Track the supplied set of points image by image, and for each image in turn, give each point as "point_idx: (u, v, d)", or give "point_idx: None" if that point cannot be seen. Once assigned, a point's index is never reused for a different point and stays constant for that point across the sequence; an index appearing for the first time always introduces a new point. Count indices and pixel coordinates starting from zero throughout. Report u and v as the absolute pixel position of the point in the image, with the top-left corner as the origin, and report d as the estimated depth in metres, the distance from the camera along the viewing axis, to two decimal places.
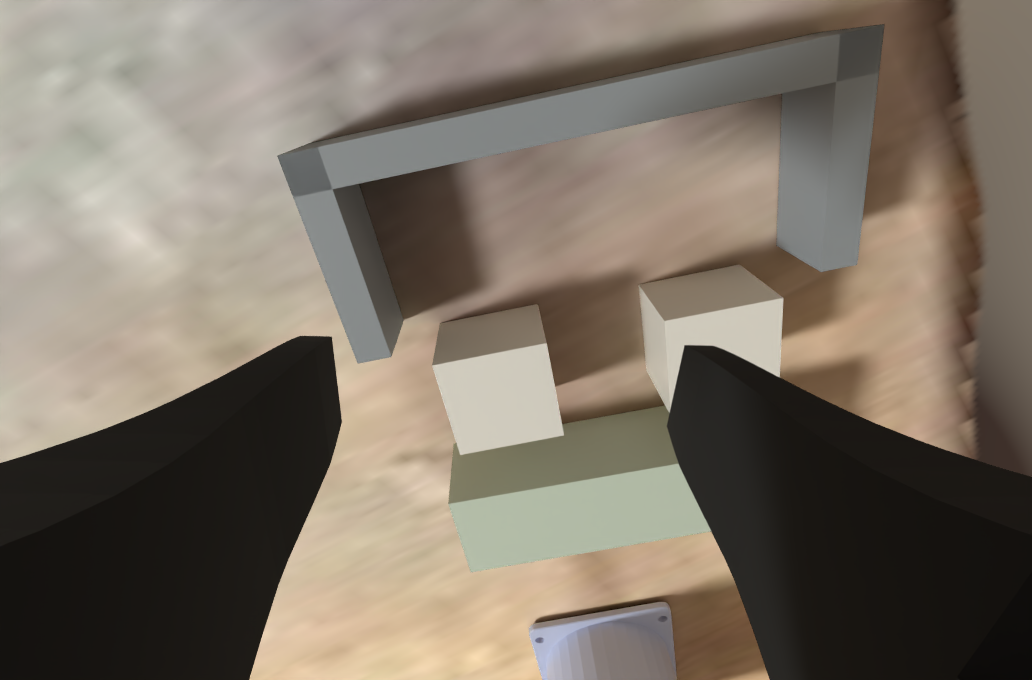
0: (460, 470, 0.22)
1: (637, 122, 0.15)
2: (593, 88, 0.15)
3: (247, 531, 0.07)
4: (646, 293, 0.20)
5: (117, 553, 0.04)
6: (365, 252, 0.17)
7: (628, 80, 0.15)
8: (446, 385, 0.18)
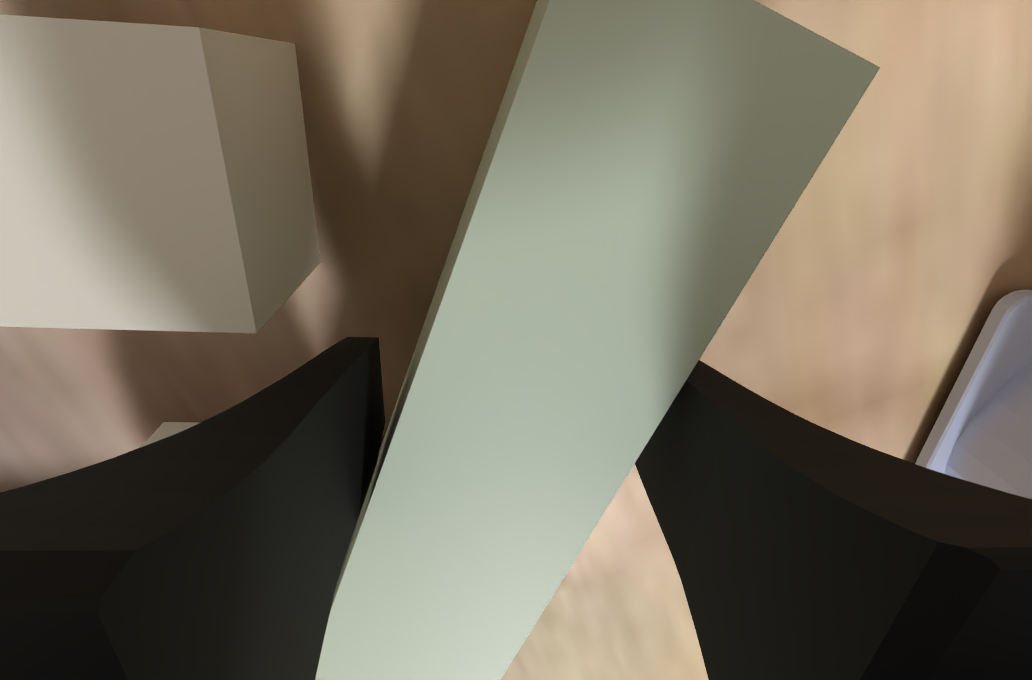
0: None
1: None
2: None
3: (315, 531, 0.07)
4: None
5: (224, 553, 0.05)
6: None
7: None
8: None
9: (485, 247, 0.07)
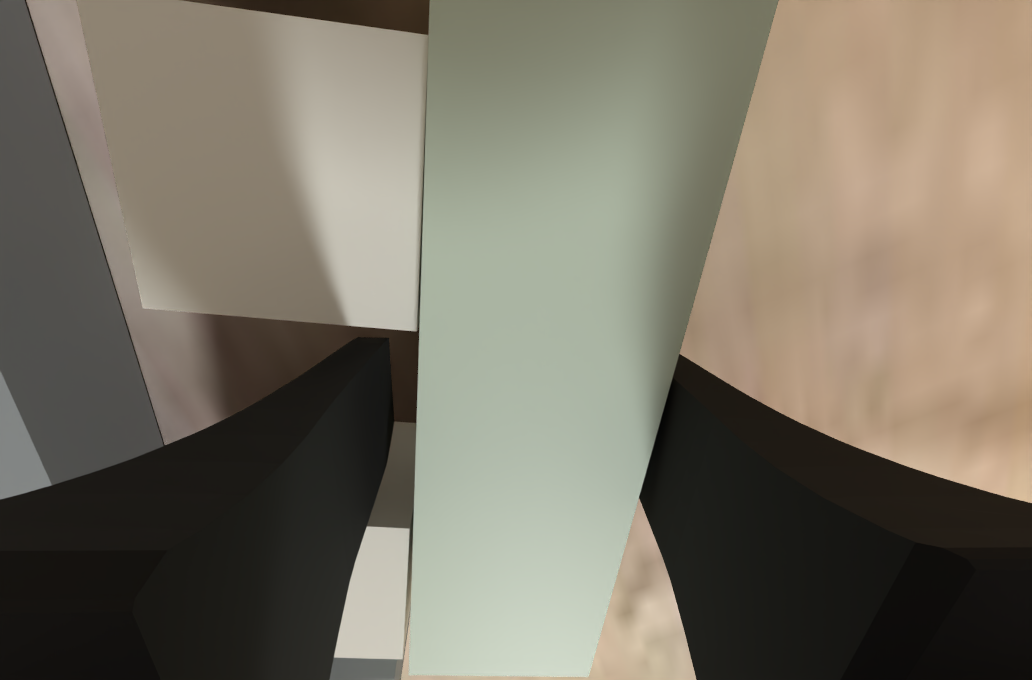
0: None
1: None
2: None
3: (329, 531, 0.07)
4: None
5: (247, 552, 0.05)
6: None
7: None
8: None
9: (447, 206, 0.07)
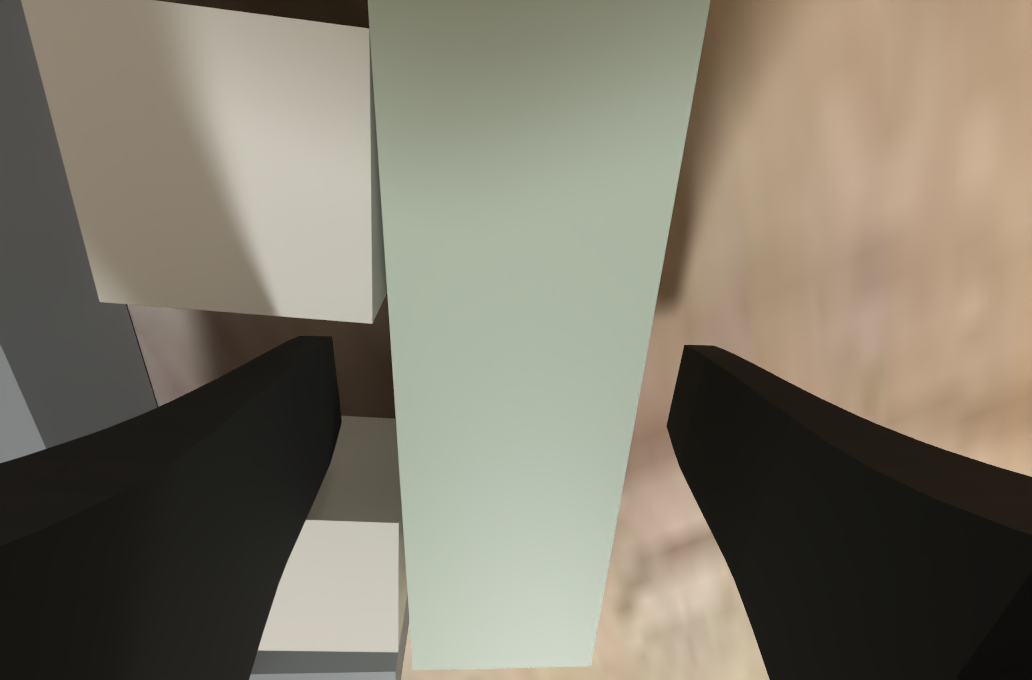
0: None
1: None
2: None
3: (247, 531, 0.07)
4: None
5: (117, 553, 0.04)
6: None
7: None
8: None
9: (404, 209, 0.07)
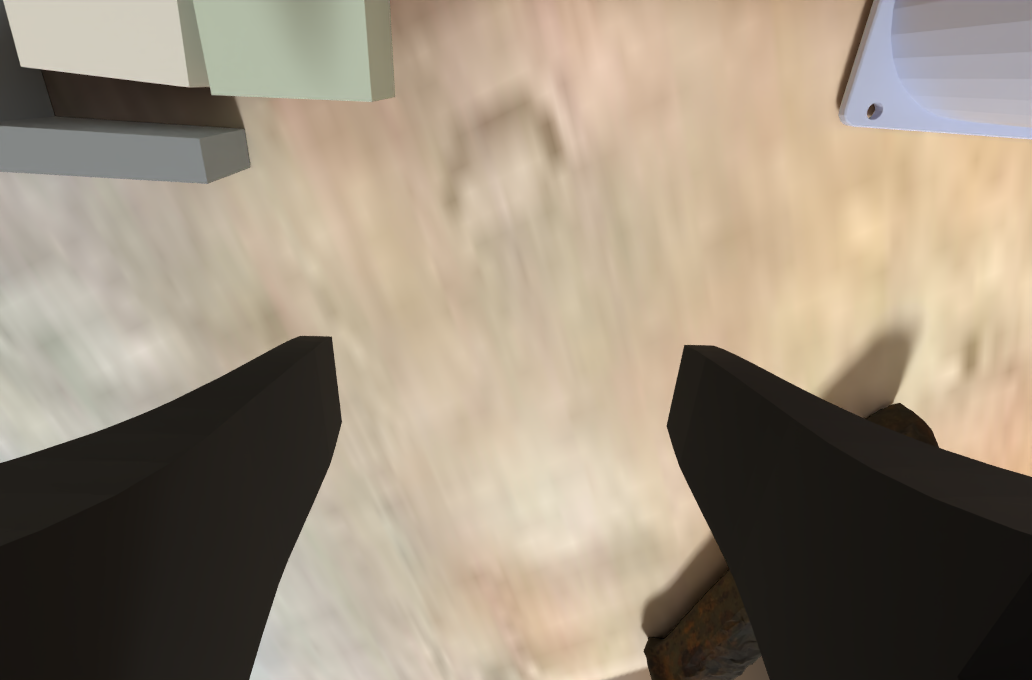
0: None
1: None
2: None
3: (247, 531, 0.07)
4: None
5: (117, 553, 0.04)
6: (91, 126, 0.15)
7: None
8: (56, 58, 0.13)
9: None
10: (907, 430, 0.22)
